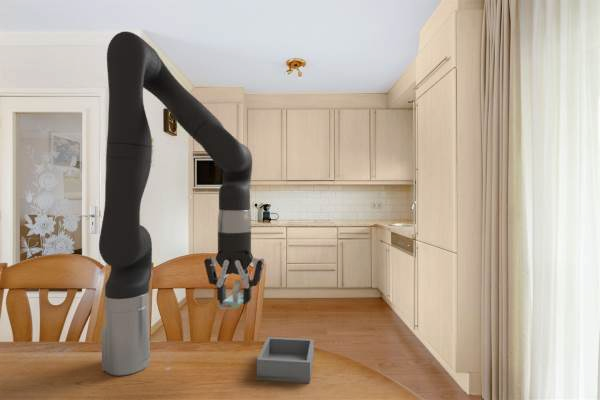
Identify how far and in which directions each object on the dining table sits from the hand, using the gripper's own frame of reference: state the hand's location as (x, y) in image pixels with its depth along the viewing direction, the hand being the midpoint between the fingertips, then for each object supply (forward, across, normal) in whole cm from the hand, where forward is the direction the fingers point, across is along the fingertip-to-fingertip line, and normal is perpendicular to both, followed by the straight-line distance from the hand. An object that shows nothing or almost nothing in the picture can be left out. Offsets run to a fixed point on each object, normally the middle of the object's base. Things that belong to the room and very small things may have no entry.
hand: (234, 302), depth 82 cm
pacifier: (+1, -1, 0) cm, 1 cm away
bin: (+15, +12, +1) cm, 20 cm away
